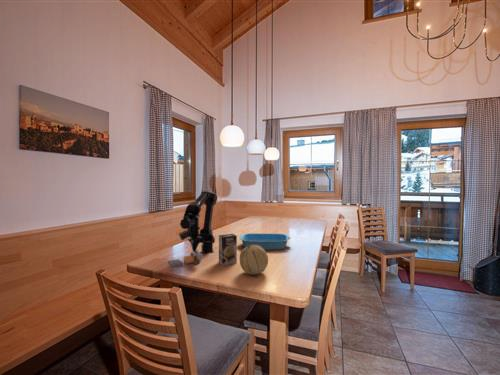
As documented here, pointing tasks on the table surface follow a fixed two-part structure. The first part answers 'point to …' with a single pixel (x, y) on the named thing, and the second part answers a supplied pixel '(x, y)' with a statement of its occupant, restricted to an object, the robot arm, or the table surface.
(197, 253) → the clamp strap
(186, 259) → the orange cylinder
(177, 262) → the mat
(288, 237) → the casserole dish
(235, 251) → the coffee box
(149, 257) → the table surface
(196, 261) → the clamp blocks
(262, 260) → the cantaloupe
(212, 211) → the robot arm
